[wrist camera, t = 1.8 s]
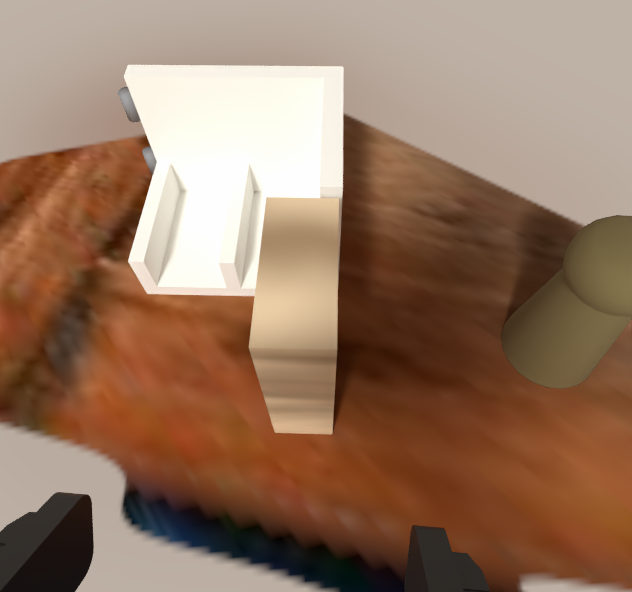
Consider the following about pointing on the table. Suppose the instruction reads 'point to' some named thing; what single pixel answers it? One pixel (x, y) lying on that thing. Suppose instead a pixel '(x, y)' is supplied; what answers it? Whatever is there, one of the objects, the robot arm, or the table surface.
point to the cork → (575, 308)
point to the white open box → (227, 165)
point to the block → (297, 313)
